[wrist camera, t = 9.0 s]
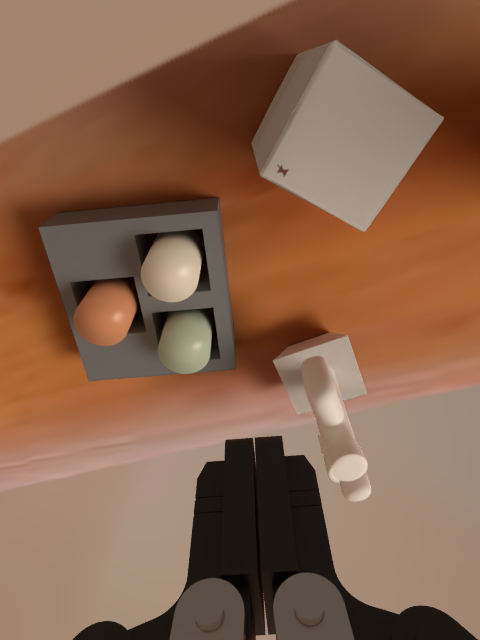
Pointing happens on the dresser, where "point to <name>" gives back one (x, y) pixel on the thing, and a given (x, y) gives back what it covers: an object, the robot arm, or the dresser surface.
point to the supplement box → (341, 134)
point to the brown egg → (107, 311)
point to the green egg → (186, 340)
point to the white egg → (173, 265)
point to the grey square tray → (138, 279)
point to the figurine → (328, 403)
